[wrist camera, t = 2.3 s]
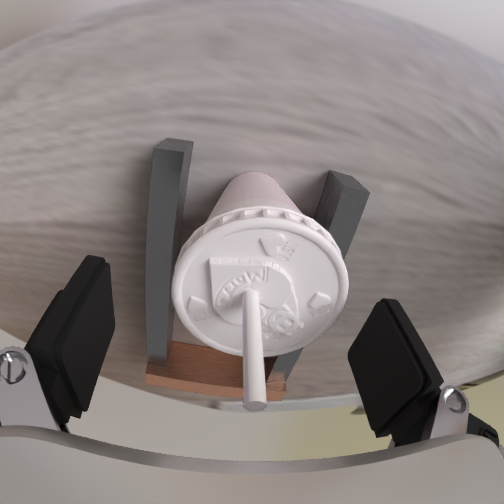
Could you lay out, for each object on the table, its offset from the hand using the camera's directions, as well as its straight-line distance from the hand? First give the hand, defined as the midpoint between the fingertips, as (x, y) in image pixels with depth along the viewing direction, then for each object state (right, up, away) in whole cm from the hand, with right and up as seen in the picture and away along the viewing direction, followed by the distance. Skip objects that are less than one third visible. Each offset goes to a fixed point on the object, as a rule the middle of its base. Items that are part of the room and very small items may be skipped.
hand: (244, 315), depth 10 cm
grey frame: (-1, +1, +12) cm, 12 cm away
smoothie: (0, +5, +9) cm, 10 cm away
